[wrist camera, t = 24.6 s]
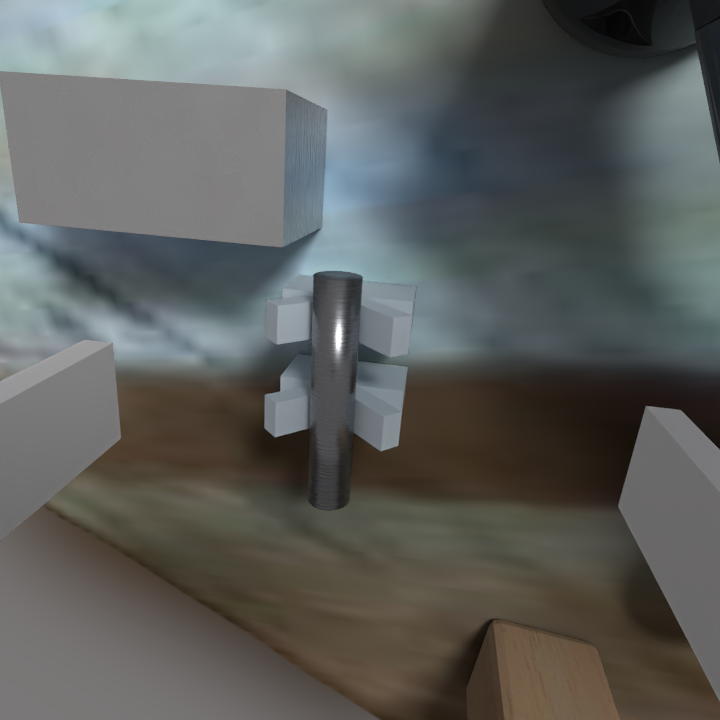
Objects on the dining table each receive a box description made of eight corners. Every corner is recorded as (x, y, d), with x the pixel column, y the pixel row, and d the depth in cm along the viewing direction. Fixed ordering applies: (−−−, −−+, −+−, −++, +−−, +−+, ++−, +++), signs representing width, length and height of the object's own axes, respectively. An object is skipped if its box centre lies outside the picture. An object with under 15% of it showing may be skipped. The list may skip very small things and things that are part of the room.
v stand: (298, 274, 42) (260, 304, 33) (417, 286, 41) (411, 320, 32) (295, 382, 45) (259, 435, 36) (405, 395, 44) (397, 453, 35)
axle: (320, 269, 35) (307, 278, 32) (366, 273, 34) (357, 283, 32) (314, 482, 41) (302, 506, 38) (353, 489, 40) (344, 513, 37)
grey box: (110, 95, 40) (-2, 71, 30) (327, 109, 38) (286, 89, 28) (119, 209, 42) (19, 222, 32) (321, 227, 41) (282, 247, 31)
